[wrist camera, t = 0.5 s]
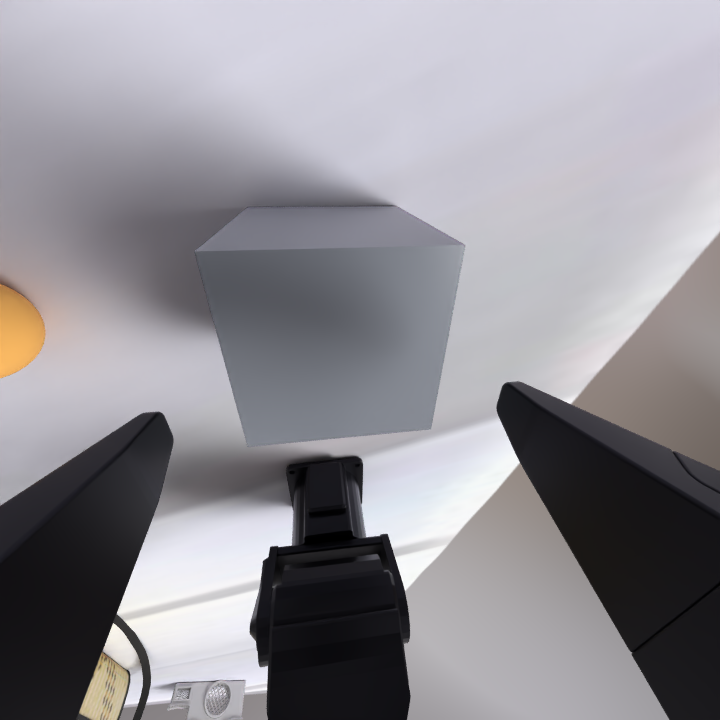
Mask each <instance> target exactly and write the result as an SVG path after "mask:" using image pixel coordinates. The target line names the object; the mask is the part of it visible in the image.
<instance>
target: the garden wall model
mask: <svg viewBox="0 0 720 720" xmlns="http://www.w3.org/2000/svg"><path fill="white" fill-rule="evenodd" d="M245 682H246V681H226V680H219V681H217V682H195V683H176V685H175V688H174V691H173V695H172V699H171V703H170V705H169V706H168V709H167V710H172V709H188V711H187V716H186V720H243V718H241V715H242V707H243V699H244V691H245ZM218 685H219V686H220V689H221V692H222V695H223V698H224V697H225V696H226V695H227V694H228V695H227V698H228V700H227V701H225V699H226V698H224V700H223V701H225V703H224V704H226V702H227V704H226V706H225V707H223V709H224V708H225V709H224V711H223V712H221V711H222V710H221V707H222V706H223V705H224V704H223V703H222V702H223V701H222V699H221V696H222V695H221V696H220V693H221V692H220V693H219V690H220V689H219V690H218V687H219V686H218ZM215 686H216V687H217V686H218V687H217V688H216V689H217V690H218V691H217V692H218V695H219V698H220V701H221V703H222V706H221V707H220V704H219V702H218V699H219V698H218V699H217V696H218V695H217V696H216V693H217V692H215V689H214V687H215ZM221 686H222V687H224V689H225V692H226V691H227V692H226V695H225V696H224V693H225V692H224V693H223V690H224V689H223V690H222V687H221ZM211 688H212V689H214V690H213V691H214V692H215V696H216V697H215V698H216V699H217V700H216V701H217V702H218V703H217V704H218V706H219V709H220V712H221V714H220V715H219V713H218V710H217V707H218V706H217V707H216V708H215V709H216V710H217V711H216V712H217V713H218V714H217V715H215V713H216V712H215V711H214V708H213V707H214V706H213V704H212V702H211V697H213V695H214V694H213V693H212V692H213V691H212V689H211ZM177 690H179V693H180V694H179V695H178V696H179V698H181V695H182V692H184V693H185V691H186V690H189V691H187V693H188V694H187V693H186V694H185V698H187V699H185V698H182V699H175V698H176V697H178V696H176V695H177V692H178V691H177ZM181 690H184V691H181ZM210 690H211V693H212V696H211V697H210V694H211V693H210V694H209V691H210ZM184 693H183V696H184ZM187 695H188V696H187ZM183 696H182V697H183ZM186 696H187V697H186ZM208 696H209V699H210V702H211V705H212V708H213V711H214V715H212V714H211V713H212V712H213V711H212V712H211V711H210V710H211V709H212V708H211V709H210V706H209V703H210V702H209V703H208V700H209V699H208V700H207V697H208ZM215 698H214V697H213V700H214V699H215ZM206 700H207V701H206ZM216 701H215V700H214V703H215V702H216ZM206 702H207V703H208V704H207V705H208V708H209V711H210V713H209V711H208V710H207V709H208V708H207V705H206ZM215 706H216V704H215Z"/></svg>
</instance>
